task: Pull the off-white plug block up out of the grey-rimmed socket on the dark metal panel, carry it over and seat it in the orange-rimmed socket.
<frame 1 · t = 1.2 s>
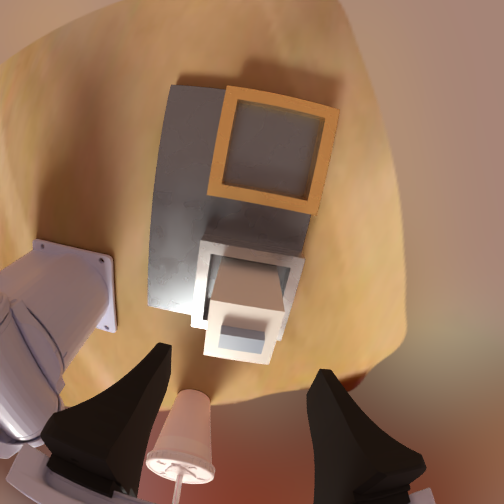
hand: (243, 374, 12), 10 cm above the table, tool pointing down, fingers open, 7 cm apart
plug: (244, 285, 21), point 1 cm above the table, touching panel
smoothie: (193, 398, 27), on the table
panel: (229, 213, 20), on the table
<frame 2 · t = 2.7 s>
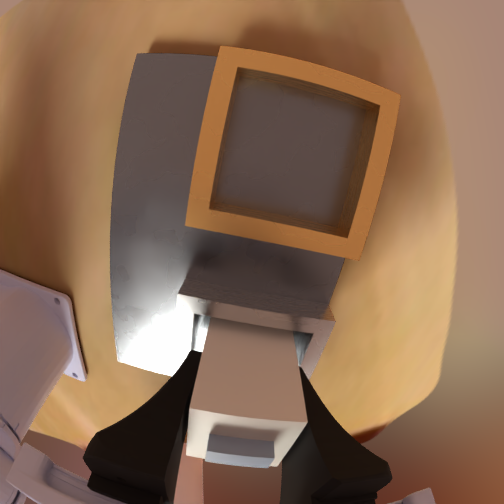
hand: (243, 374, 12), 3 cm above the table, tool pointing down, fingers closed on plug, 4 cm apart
plug: (244, 347, 14), point 1 cm above the table, touching gripper, panel
smoothie: (183, 448, 21), on the table
panel: (224, 247, 13), on the table
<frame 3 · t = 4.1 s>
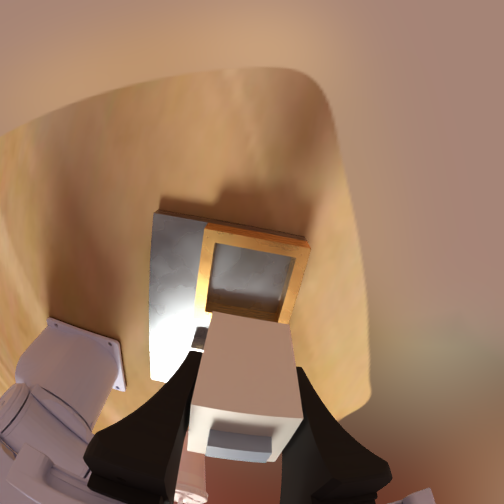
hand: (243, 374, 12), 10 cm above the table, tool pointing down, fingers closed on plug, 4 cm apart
plug: (244, 346, 15), point 8 cm above the table, touching gripper
smoothie: (191, 436, 31), on the table
panel: (214, 319, 23), on the table
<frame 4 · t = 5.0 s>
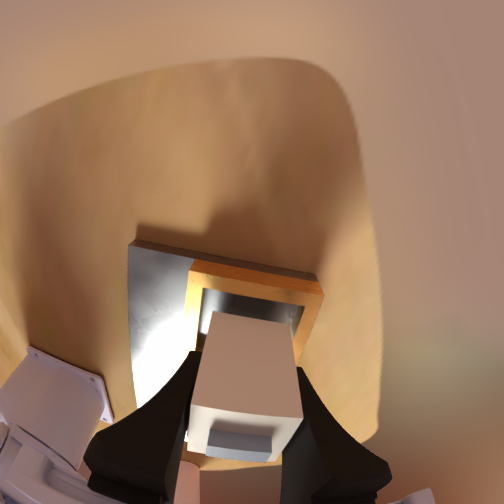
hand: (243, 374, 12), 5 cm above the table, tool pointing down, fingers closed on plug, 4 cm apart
plug: (244, 346, 15), point 3 cm above the table, touching gripper
smoothie: (184, 464, 27), on the table
panel: (206, 362, 19), on the table
when the fingers open (4 cm above the table, at t = 5.7 s): plug stays where it is, resting on panel.
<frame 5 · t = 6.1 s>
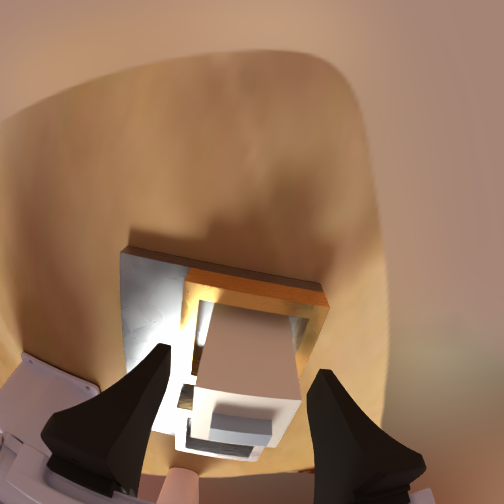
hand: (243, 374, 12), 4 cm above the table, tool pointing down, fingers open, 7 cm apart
plug: (245, 337, 15), point 1 cm above the table, touching panel
smoothie: (183, 471, 26), on the table
panel: (204, 373, 18), on the table
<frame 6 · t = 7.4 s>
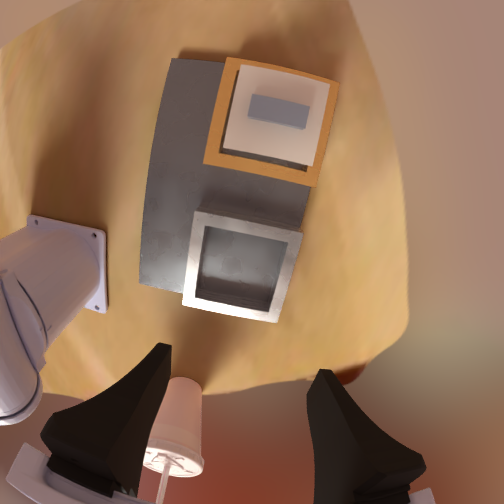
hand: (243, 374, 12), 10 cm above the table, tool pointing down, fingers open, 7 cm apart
plug: (270, 124, 17), point 1 cm above the table, touching panel
smoothie: (185, 386, 27), on the table
panel: (226, 186, 19), on the table
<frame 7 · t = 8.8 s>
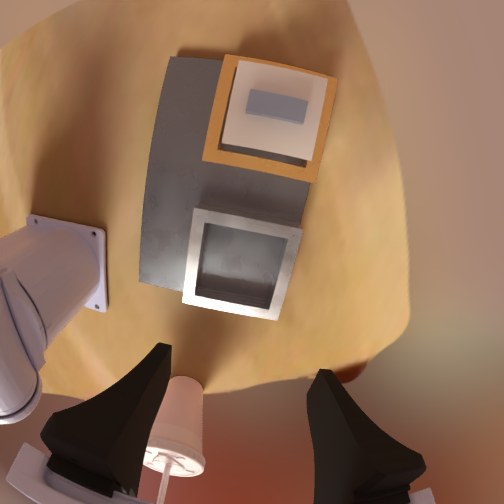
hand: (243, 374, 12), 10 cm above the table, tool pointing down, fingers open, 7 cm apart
plug: (269, 121, 16), point 1 cm above the table, touching panel
smoothie: (186, 385, 27), on the table
panel: (225, 183, 19), on the table
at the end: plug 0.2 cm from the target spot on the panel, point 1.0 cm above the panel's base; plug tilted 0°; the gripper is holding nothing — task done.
